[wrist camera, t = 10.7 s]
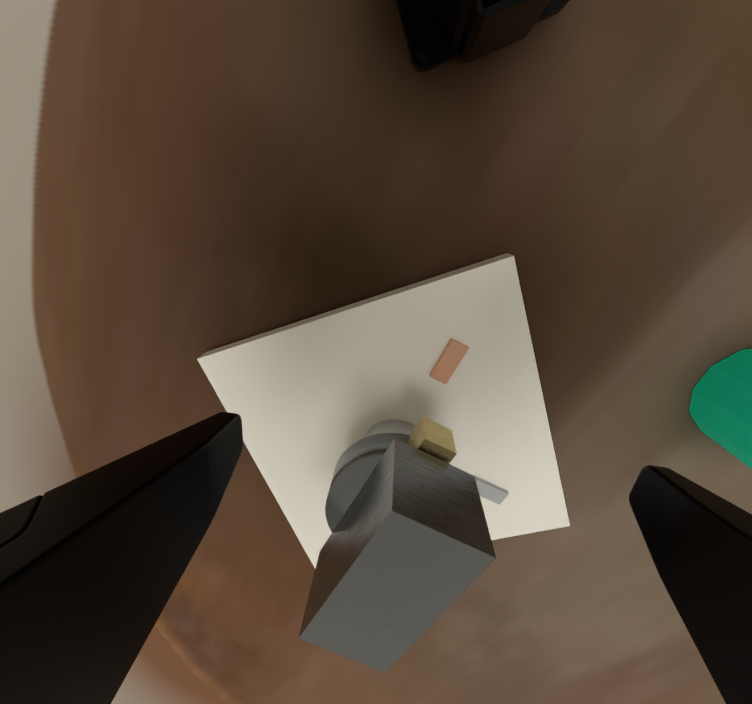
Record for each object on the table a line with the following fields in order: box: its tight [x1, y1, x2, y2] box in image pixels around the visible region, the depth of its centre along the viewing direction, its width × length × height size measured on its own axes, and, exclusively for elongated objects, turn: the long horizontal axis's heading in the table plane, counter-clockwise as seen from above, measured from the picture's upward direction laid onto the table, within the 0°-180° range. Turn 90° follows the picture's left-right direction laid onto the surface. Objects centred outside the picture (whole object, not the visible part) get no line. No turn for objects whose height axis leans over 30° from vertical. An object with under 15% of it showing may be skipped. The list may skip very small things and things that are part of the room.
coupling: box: [299, 416, 496, 672], centre depth 16 cm, size 8×6×6 cm
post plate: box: [197, 253, 570, 569], centre depth 21 cm, size 18×18×4 cm
